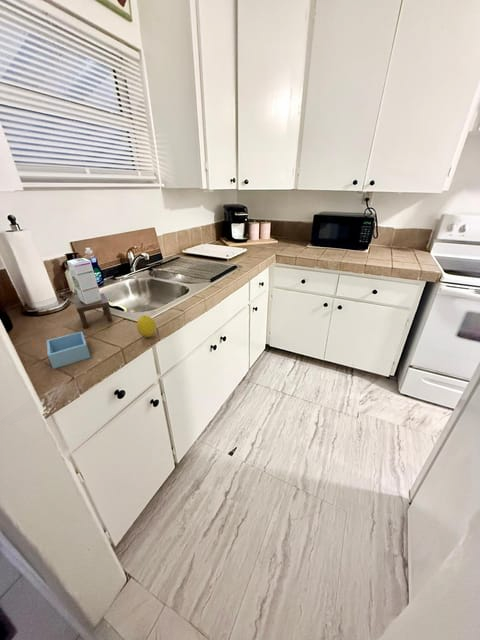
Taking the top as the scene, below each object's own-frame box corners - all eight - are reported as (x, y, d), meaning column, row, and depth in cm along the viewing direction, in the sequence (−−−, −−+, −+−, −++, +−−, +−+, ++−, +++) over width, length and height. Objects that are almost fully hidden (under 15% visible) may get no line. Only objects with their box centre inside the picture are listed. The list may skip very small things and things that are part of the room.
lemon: (160, 334, 87) (157, 313, 83) (149, 343, 82) (144, 321, 79) (147, 331, 89) (143, 310, 85) (135, 339, 84) (130, 317, 81)
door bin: (51, 352, 78) (46, 340, 76) (86, 343, 82) (82, 331, 80) (53, 368, 71) (47, 355, 69) (90, 357, 76) (86, 344, 74)
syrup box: (102, 300, 93) (91, 259, 86) (85, 305, 89) (72, 263, 82) (95, 296, 96) (84, 257, 89) (78, 300, 92) (65, 260, 85)
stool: (79, 318, 97) (73, 299, 94) (108, 311, 102) (103, 293, 99) (83, 329, 90) (76, 308, 86) (113, 321, 95) (108, 301, 91)
